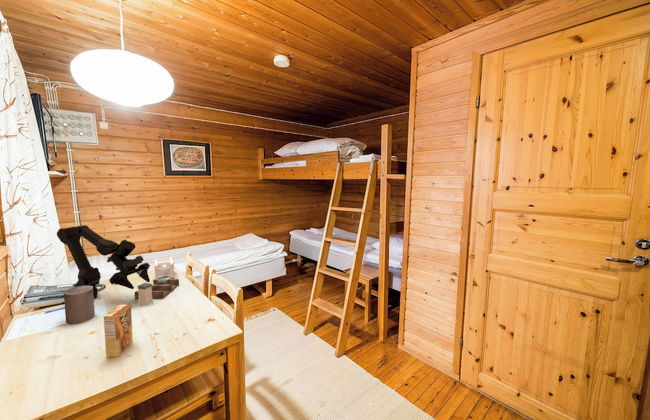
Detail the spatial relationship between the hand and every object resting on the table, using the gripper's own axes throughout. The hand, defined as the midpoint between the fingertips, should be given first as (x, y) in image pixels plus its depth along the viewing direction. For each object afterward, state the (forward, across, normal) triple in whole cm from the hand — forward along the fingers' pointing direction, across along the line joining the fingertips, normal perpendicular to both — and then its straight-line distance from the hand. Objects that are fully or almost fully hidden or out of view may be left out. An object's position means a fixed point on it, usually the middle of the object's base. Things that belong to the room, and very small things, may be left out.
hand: (141, 285), depth 135 cm
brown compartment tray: (+4, +14, +9) cm, 17 cm away
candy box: (+24, -34, -10) cm, 42 cm away
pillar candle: (-3, -19, +17) cm, 25 cm away
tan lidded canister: (+8, 0, +6) cm, 10 cm away
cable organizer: (-6, +34, +19) cm, 40 cm away
